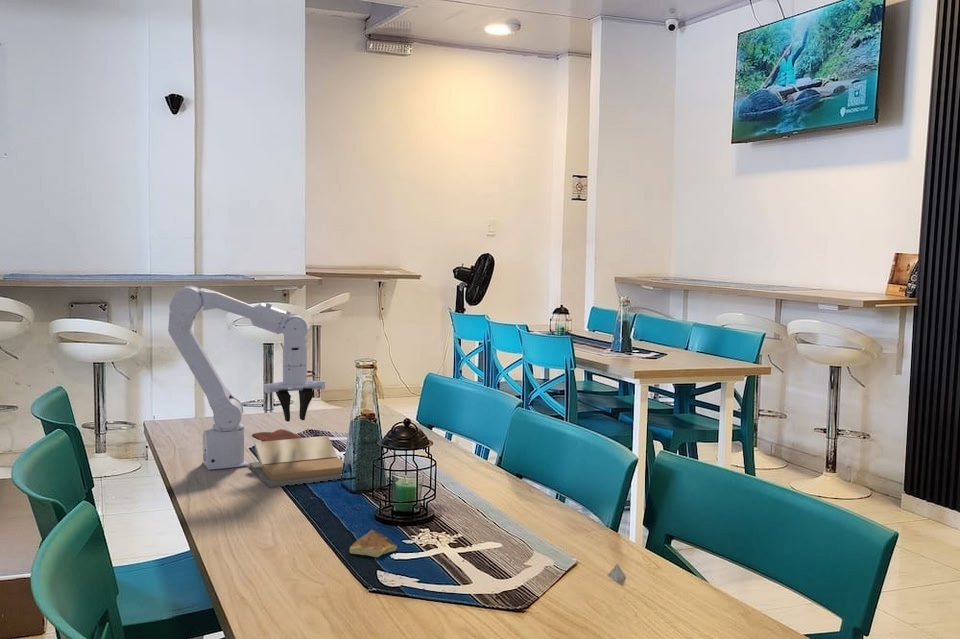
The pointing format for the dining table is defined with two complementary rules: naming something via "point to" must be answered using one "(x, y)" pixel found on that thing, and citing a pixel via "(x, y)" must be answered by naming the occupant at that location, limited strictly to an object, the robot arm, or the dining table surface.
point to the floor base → (289, 482)
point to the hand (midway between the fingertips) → (294, 420)
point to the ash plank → (294, 450)
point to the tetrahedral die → (616, 573)
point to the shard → (373, 545)
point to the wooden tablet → (276, 435)
